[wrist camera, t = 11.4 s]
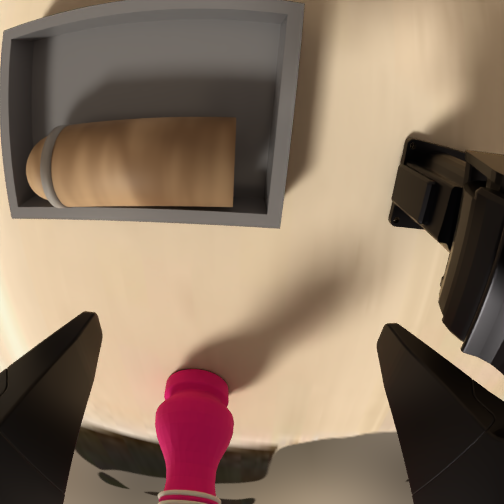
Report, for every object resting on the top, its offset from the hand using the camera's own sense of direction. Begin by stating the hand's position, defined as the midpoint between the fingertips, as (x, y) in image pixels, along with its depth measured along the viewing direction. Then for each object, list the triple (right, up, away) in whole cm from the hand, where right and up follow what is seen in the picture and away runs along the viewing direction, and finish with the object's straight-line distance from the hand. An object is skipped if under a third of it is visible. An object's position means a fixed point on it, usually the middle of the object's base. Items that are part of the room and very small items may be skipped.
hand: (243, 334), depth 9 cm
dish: (-7, +11, +8) cm, 16 cm away
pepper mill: (-5, -11, +21) cm, 24 cm away
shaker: (-1, +7, +7) cm, 10 cm away
